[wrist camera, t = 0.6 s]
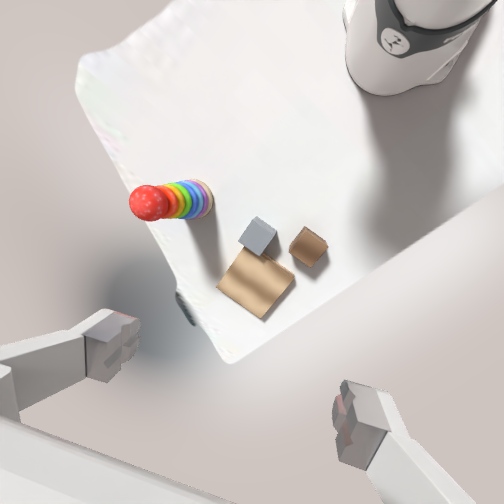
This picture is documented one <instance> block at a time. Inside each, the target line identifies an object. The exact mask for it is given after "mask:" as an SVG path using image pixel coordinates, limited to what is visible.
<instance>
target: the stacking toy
mask: <svg viewBox="0 0 504 504" xmlns="http://www.w3.org/2000/svg"><path fill="white" fill-rule="evenodd" d="M212 203H213V198H212V193H211V191H210V189H209V188H208V186H207V185H206V184H205V183H203V182H201V181H199V180H195V179H190V180H185V181H180V182H176V183H169V184H166V185H161V186H155V187H154V186H151V185H143V186H140V187H137V188H136V189H135V190H134V191H133V192H132V193H131V195H130V199H129V205H130V208H131V210H132V212H133V213H134V215H135V216H137V217H138V218H140V219H141V220H144V221H156V220H159V219H160V218H161V219H166V218H168V219H172V218H178V219H199V218H202V217H204V216H206V215H207V214H208V213H209V211H210V210H211V207H212Z"/></svg>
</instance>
